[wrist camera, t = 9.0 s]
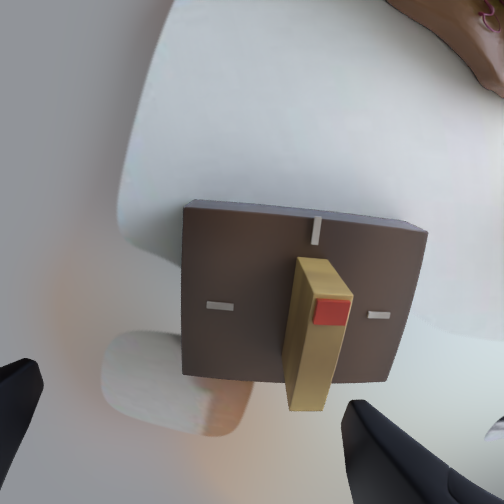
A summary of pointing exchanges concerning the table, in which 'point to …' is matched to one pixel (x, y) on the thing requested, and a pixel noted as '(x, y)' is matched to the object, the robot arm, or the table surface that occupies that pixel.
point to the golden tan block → (314, 332)
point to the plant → (466, 33)
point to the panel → (290, 286)
